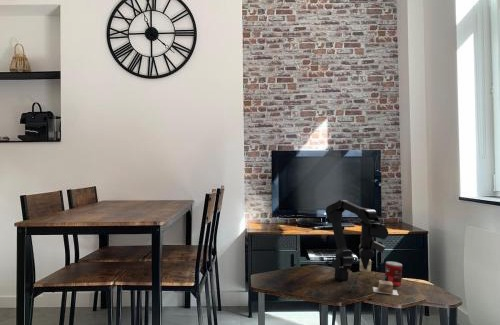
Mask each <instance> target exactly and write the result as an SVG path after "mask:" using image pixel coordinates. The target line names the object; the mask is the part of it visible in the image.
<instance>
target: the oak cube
mask: <svg viewBox="0 0 500 325" xmlns="http://www.w3.org/2000/svg"><path fill="white" fill-rule="evenodd" d="M371 259H372V258H371ZM371 259H370V260H369V263H368V266H367V269H364V267H363V264H362V260H361V257H359V271H360V272H367V273H371V272H372V260H371Z"/></svg>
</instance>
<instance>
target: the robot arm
mask: <svg viewBox="0 0 500 325" xmlns="http://www.w3.org/2000/svg"><path fill="white" fill-rule="evenodd" d="M345 211H348V212H350V213H351V214H354V215H356V216H357V218H358V219H359V220H360V221H359V222H358V225H360V226H361V231H360V244H359V246H358V250H359V258H361V260H362V264H363V267H364V269H367V266H368V263H369V260H370V259H372V258H374V257H375V251H374V250H376V251H378V252H379V253H381V254H384V253H385V252H384V251H385V249H386V245H384V244H383V241H381V240H386V239H387V238H388V236H389V230H388V228H387V227H386V224H385V223H382V222H381V221H380V218H379V216H378V214H377V211H376V210H375V209H371V208H366V207H362V206H360V205H357V204H355V203H353V202H351V201H348V200H347V199H339V200H337V201H336V202H333V203H331V204H329V205H327V207H326V208H325V214H326V217H327V219H328V220H329V222H330V223H331V226H332V231H333V236H334V237H333V238H334V240H335V246H336V253H335V255H334V256H335V259H334V260H333V261H332V262H331V268H333V269H334V277H333V281H338V282H348V280H349V272H350V271H349V269H351V268H352V266H353V263H354V256H353V251H352V250H350V249H349V248H348V247H347V244H346V243H347V242H346V239H345V234H344V229H343V226H342V218H343V213H344V212H345ZM375 238H376V239H380V240H378V241H375Z"/></svg>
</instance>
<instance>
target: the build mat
mask: <svg viewBox="0 0 500 325" xmlns="http://www.w3.org/2000/svg"><path fill="white" fill-rule="evenodd" d="M372 290H373V293H374V292H375V293H380V294H388V295H395V296H399V293H398V290H397V289H393V294H391V293H384V292H379V289H378V286H377V287H375V286H372Z"/></svg>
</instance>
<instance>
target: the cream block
mask: <svg viewBox="0 0 500 325" xmlns="http://www.w3.org/2000/svg"><path fill="white" fill-rule="evenodd" d="M377 288H378V289H379V292H384V293H383V294H386V293H391V294H390V295H392V294H393V290H394V286H393V283H392V282H390V281H385V280H378V286H377ZM379 292H378V293H379Z"/></svg>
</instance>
